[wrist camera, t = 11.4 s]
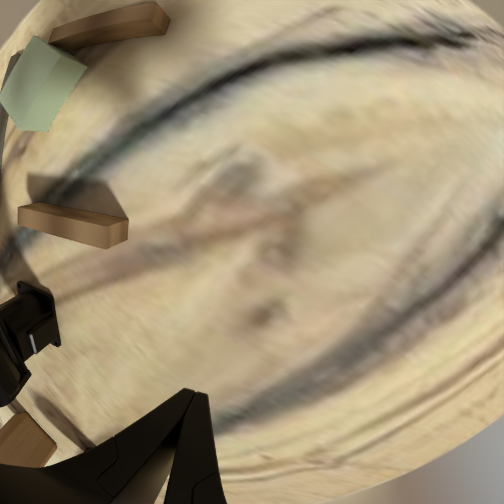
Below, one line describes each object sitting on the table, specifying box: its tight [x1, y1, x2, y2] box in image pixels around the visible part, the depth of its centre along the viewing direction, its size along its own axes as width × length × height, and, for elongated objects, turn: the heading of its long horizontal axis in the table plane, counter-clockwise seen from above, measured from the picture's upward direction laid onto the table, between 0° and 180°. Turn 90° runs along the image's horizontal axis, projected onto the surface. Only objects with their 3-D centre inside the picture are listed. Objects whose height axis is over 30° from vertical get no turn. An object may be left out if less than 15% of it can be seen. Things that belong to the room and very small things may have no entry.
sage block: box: [0, 35, 87, 132], centre depth 16 cm, size 7×7×4 cm
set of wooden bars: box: [0, 2, 170, 249], centre depth 17 cm, size 21×18×3 cm
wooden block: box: [0, 412, 57, 468], centre depth 25 cm, size 10×10×20 cm
